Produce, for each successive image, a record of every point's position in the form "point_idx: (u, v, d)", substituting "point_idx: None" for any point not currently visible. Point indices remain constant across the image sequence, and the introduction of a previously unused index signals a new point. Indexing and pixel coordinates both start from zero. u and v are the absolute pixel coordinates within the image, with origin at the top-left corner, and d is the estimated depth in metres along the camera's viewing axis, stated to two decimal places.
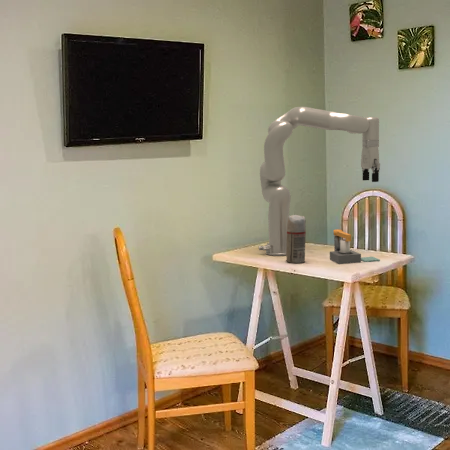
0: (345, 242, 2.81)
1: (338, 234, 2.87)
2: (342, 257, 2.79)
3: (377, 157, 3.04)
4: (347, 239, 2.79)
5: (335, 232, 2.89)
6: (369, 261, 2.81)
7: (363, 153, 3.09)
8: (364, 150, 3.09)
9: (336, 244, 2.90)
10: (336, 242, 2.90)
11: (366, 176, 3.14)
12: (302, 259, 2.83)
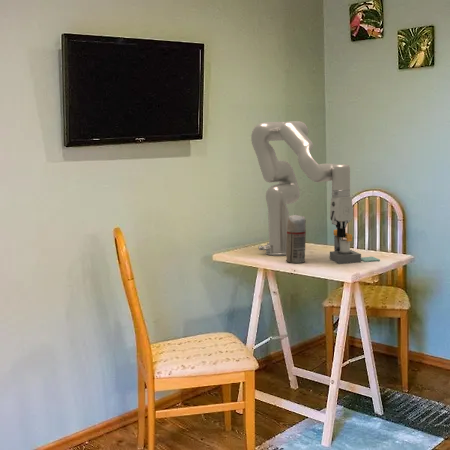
0: (345, 242, 2.81)
1: None
2: (342, 257, 2.79)
3: None
4: (348, 239, 2.79)
5: (335, 232, 2.89)
6: (369, 261, 2.81)
7: (344, 204, 2.76)
8: (344, 201, 2.76)
9: (336, 244, 2.90)
10: (336, 242, 2.90)
11: None
12: (302, 259, 2.83)
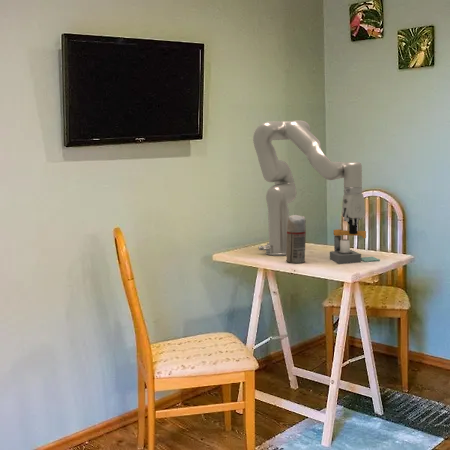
0: (345, 242, 2.81)
1: (344, 233, 2.89)
2: (342, 257, 2.79)
3: None
4: (365, 236, 2.86)
5: (339, 232, 2.89)
6: (369, 261, 2.81)
7: (356, 202, 2.81)
8: (356, 198, 2.81)
9: (336, 244, 2.90)
10: (336, 242, 2.90)
11: None
12: (302, 259, 2.83)
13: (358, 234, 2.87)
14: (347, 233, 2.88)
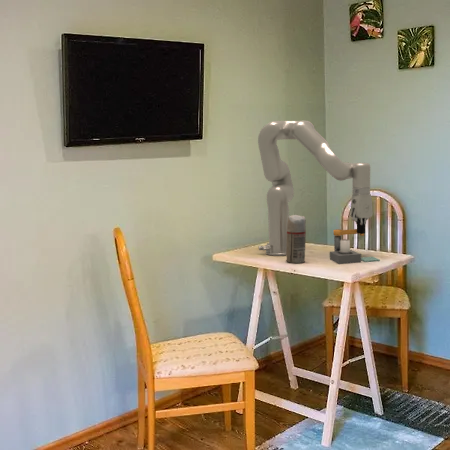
0: (345, 242, 2.81)
1: (345, 233, 2.90)
2: (342, 257, 2.79)
3: None
4: None
5: (341, 232, 2.89)
6: (369, 261, 2.81)
7: (364, 202, 2.85)
8: (364, 198, 2.85)
9: (336, 244, 2.90)
10: (336, 242, 2.90)
11: None
12: (302, 259, 2.83)
13: None
14: (348, 232, 2.91)
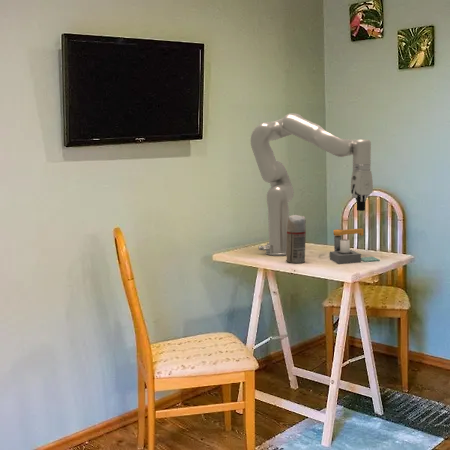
0: (345, 242, 2.81)
1: (345, 233, 2.91)
2: (342, 257, 2.79)
3: None
4: (362, 233, 2.94)
5: (341, 232, 2.89)
6: (369, 261, 2.81)
7: (364, 178, 2.84)
8: (365, 175, 2.84)
9: (336, 244, 2.90)
10: (336, 242, 2.90)
11: None
12: (302, 259, 2.83)
13: (357, 232, 2.92)
14: (347, 232, 2.91)
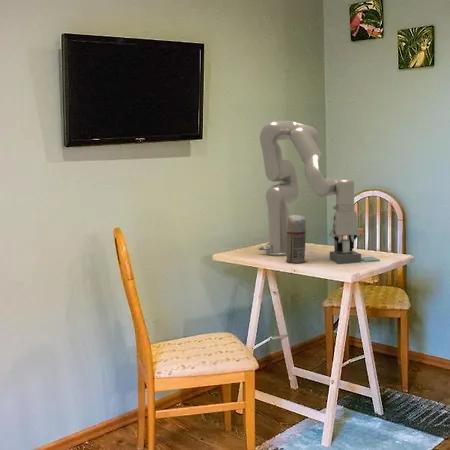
0: (345, 242, 2.81)
1: None
2: (342, 257, 2.79)
3: None
4: (362, 233, 2.94)
5: None
6: (369, 261, 2.81)
7: (345, 219, 2.79)
8: (345, 215, 2.79)
9: (336, 244, 2.90)
10: (336, 242, 2.90)
11: None
12: (302, 259, 2.83)
13: None
14: None
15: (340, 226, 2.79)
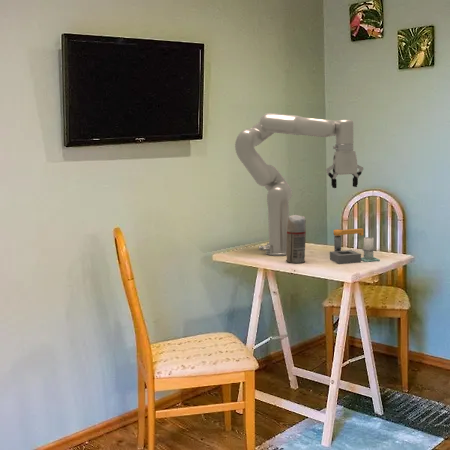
0: (369, 240, 2.82)
1: (345, 233, 2.91)
2: (342, 257, 2.79)
3: None
4: (362, 233, 2.94)
5: (341, 232, 2.89)
6: (369, 261, 2.81)
7: (344, 158, 2.88)
8: (345, 154, 2.88)
9: (336, 244, 2.90)
10: (336, 242, 2.90)
11: None
12: (302, 259, 2.83)
13: (357, 232, 2.92)
14: (347, 232, 2.91)
15: (340, 165, 2.88)
